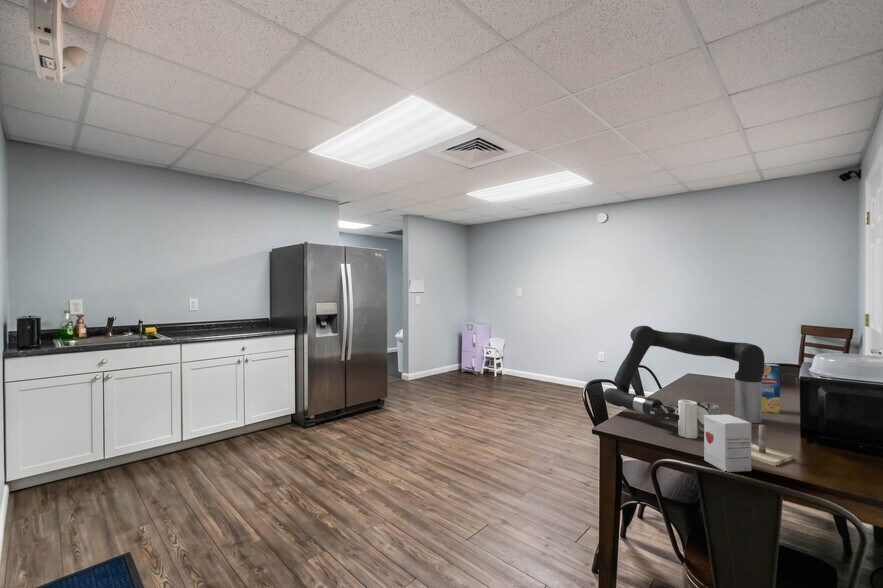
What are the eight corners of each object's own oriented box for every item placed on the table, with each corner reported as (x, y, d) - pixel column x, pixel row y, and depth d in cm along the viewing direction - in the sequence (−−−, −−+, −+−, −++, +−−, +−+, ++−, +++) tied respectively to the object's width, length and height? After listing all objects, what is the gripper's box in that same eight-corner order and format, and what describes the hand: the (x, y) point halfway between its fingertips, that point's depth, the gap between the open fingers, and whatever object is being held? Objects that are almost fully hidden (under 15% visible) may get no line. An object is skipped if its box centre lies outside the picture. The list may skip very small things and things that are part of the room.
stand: (751, 446, 139) (751, 418, 139) (793, 459, 128) (793, 428, 128) (732, 452, 134) (732, 422, 134) (774, 466, 123) (774, 433, 123)
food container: (727, 435, 150) (726, 409, 150) (709, 434, 152) (709, 408, 152) (711, 425, 162) (711, 401, 163) (695, 424, 164) (695, 400, 164)
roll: (684, 431, 154) (684, 399, 155) (700, 436, 149) (700, 402, 149) (675, 434, 152) (674, 400, 152) (691, 439, 146) (691, 404, 146)
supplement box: (702, 460, 128) (702, 414, 128) (728, 459, 128) (728, 413, 129) (725, 472, 119) (725, 423, 119) (752, 471, 119) (752, 422, 119)
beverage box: (780, 413, 179) (780, 365, 179) (751, 411, 183) (751, 364, 183) (773, 409, 186) (772, 363, 186) (745, 407, 189) (745, 362, 189)
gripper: (636, 399, 162) (674, 409, 148) (658, 395, 169) (696, 404, 154) (636, 417, 162) (674, 428, 148) (658, 412, 169) (697, 423, 154)
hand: (685, 416), depth 151 cm, fingers open, 8 cm apart
